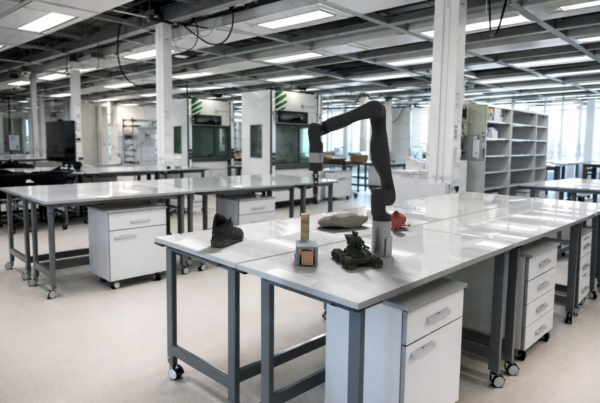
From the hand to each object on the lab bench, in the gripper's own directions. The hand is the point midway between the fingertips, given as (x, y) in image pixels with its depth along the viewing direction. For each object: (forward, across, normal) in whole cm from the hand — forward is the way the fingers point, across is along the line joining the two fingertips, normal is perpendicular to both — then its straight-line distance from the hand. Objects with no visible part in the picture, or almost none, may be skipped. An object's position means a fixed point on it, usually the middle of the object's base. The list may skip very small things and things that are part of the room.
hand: (315, 192), depth 248 cm
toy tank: (+28, -33, -19) cm, 47 cm away
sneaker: (+29, +5, +46) cm, 54 cm away
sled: (+27, -29, +4) cm, 40 cm away
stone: (+28, +55, -19) cm, 65 cm away
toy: (+28, +53, -54) cm, 81 cm away
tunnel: (+28, -33, +4) cm, 44 cm away
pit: (+28, -22, +5) cm, 36 cm away
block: (+26, -39, +4) cm, 47 cm away
